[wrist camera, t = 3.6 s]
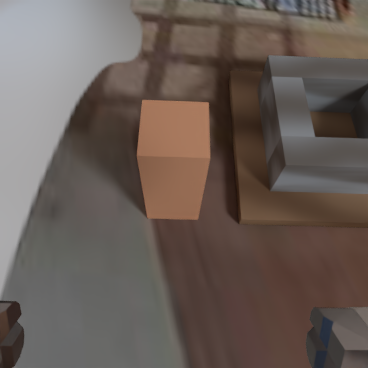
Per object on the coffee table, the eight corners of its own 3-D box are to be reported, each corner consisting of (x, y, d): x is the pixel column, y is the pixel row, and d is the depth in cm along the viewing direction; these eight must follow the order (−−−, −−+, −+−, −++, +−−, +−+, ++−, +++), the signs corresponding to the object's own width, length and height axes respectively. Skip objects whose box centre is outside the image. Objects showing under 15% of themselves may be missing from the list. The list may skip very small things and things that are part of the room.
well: (228, 77, 33) (237, 34, 28) (381, 83, 33) (413, 42, 29) (238, 224, 25) (253, 196, 21) (437, 229, 26) (492, 203, 21)
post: (150, 174, 27) (142, 99, 19) (197, 175, 27) (208, 102, 19) (147, 218, 25) (136, 155, 17) (197, 219, 25) (210, 158, 17)
